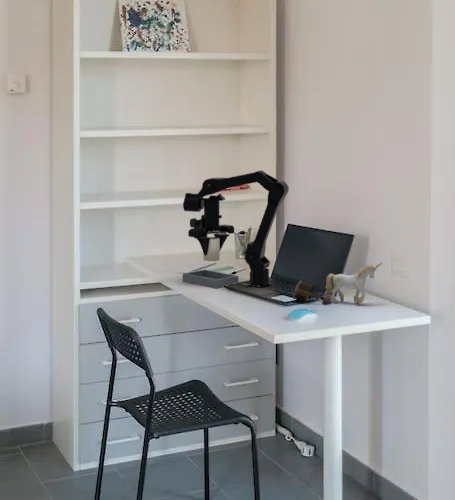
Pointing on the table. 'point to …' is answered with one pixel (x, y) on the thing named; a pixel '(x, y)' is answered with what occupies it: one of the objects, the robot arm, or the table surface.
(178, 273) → the table surface
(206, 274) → the desk tray
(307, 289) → the brown wooden mallet
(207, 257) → the ceramic cup
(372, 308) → the table surface
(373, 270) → the unicorn figurine
